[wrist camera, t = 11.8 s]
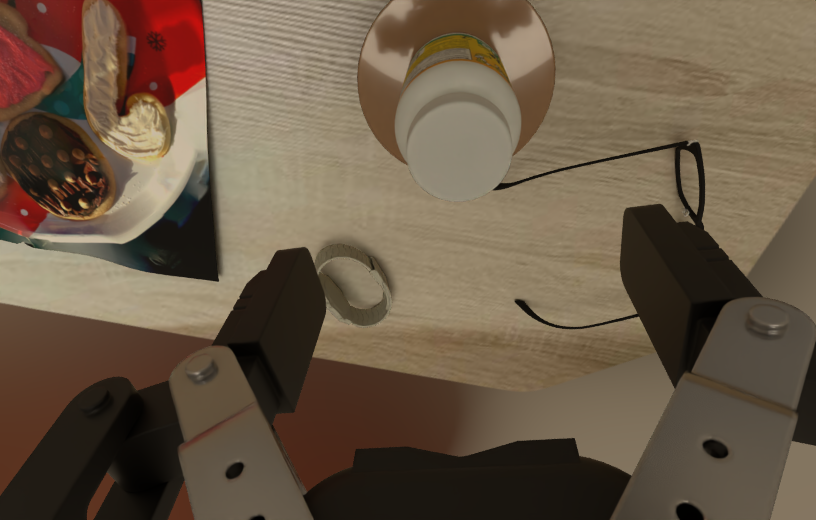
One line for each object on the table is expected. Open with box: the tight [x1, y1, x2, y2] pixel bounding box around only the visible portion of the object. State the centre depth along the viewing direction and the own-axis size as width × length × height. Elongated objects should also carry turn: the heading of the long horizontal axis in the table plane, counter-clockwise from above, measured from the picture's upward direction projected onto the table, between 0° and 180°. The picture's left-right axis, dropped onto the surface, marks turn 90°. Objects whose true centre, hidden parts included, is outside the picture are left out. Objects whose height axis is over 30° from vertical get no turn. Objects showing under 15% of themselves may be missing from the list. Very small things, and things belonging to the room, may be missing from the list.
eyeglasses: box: [493, 140, 705, 329], centre depth 41 cm, size 16×16×4 cm
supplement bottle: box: [395, 33, 521, 202], centre depth 22 cm, size 5×5×10 cm
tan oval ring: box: [315, 244, 392, 328], centre depth 45 cm, size 9×6×5 cm
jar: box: [357, 0, 555, 165], centre depth 30 cm, size 11×11×11 cm
